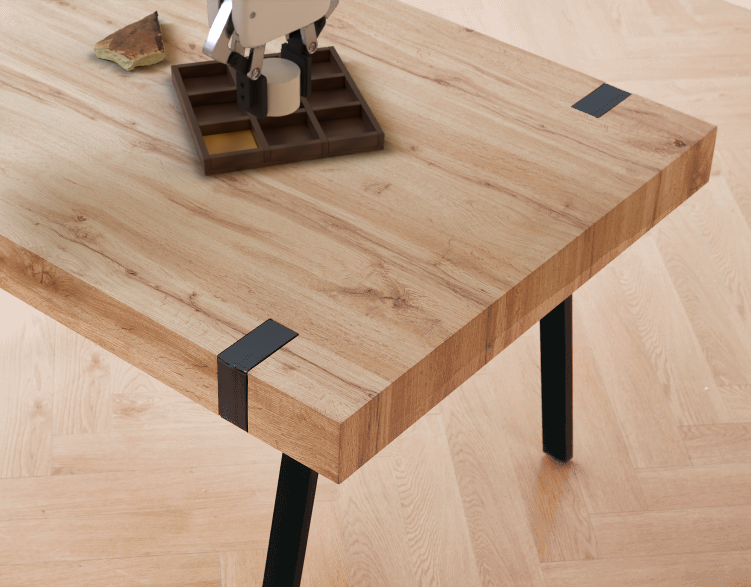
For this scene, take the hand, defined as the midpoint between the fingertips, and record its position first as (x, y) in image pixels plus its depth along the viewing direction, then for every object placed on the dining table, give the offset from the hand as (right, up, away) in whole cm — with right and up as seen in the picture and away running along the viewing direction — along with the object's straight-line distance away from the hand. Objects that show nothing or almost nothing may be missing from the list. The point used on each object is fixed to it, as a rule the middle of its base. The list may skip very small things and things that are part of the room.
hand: (274, 99), depth 93 cm
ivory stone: (0, 0, 0) cm, 0 cm away
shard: (-20, +12, +34) cm, 41 cm away
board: (-2, +3, +24) cm, 24 cm away
